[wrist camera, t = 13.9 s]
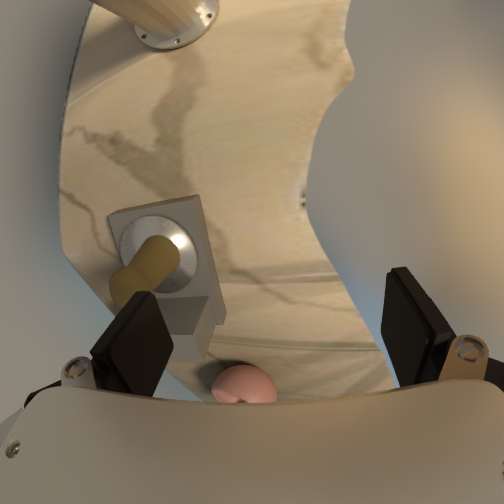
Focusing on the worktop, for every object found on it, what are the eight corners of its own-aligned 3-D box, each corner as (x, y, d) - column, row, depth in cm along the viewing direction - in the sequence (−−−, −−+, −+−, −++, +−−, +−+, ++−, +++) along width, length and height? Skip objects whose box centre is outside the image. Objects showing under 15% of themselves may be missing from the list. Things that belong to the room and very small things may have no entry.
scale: (117, 210, 40) (71, 238, 29) (199, 194, 38) (166, 220, 27) (153, 317, 48) (126, 362, 37) (227, 315, 46) (212, 367, 35)
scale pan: (114, 221, 37) (110, 223, 37) (187, 208, 36) (184, 210, 35) (137, 291, 42) (134, 295, 41) (206, 287, 40) (204, 291, 39)
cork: (134, 243, 37) (92, 281, 27) (167, 228, 36) (128, 265, 26) (154, 279, 40) (120, 324, 30) (187, 266, 38) (158, 313, 28)
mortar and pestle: (205, 367, 52) (191, 412, 42) (249, 342, 48) (240, 391, 38) (246, 396, 55) (239, 440, 45) (290, 376, 51) (289, 423, 40)
